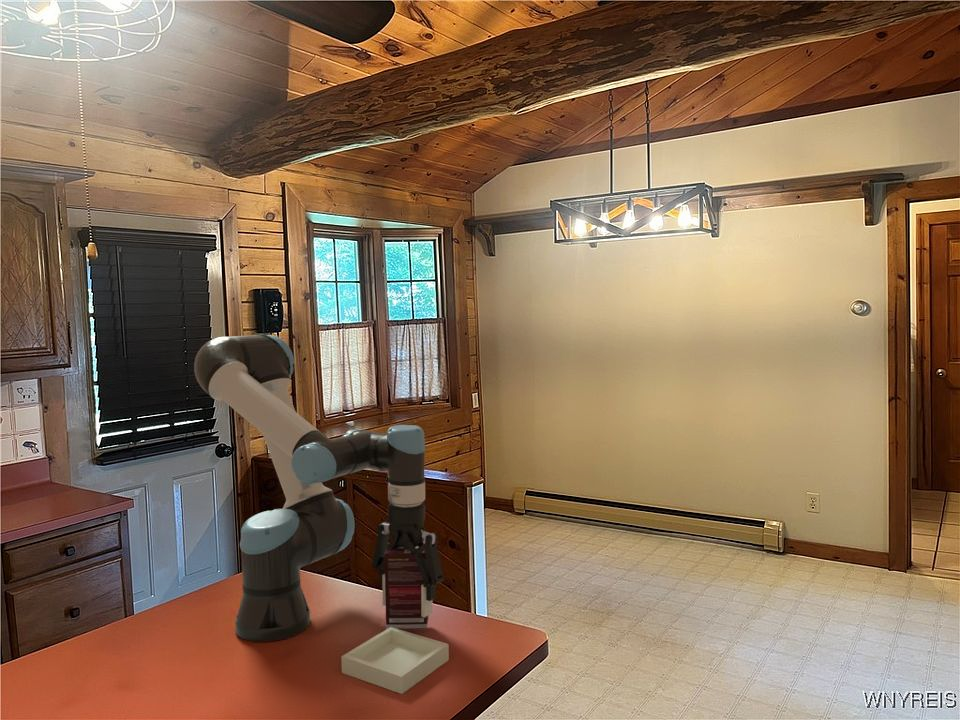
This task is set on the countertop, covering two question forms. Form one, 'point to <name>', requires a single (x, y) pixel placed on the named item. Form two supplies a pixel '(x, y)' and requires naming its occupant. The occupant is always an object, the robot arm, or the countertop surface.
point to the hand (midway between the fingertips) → (407, 608)
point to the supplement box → (403, 589)
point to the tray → (395, 659)
